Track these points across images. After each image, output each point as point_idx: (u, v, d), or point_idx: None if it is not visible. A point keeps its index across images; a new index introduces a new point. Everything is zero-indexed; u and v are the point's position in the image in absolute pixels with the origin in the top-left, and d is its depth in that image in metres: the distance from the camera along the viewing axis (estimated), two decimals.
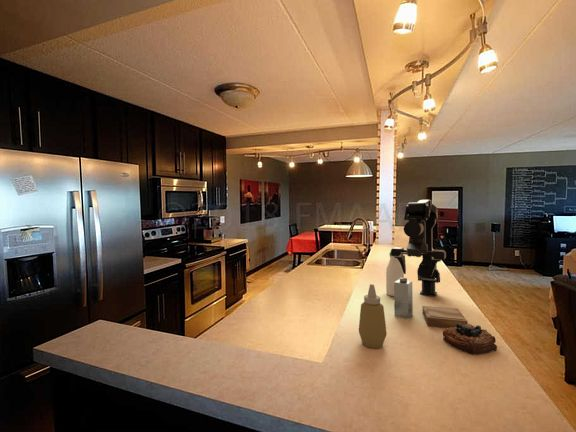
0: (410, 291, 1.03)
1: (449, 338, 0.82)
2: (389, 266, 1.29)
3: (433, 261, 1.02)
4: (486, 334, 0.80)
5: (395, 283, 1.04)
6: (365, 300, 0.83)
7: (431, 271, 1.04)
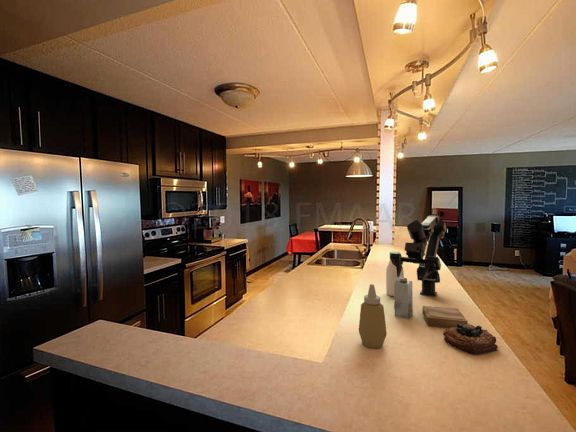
0: (410, 291, 1.03)
1: (450, 338, 0.82)
2: (389, 266, 1.29)
3: (427, 263, 1.08)
4: (487, 334, 0.80)
5: (395, 283, 1.04)
6: (365, 300, 0.83)
7: (423, 274, 1.07)
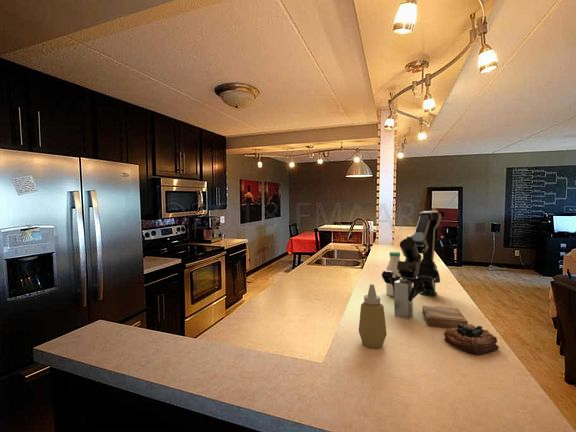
0: (410, 291, 1.03)
1: (450, 339, 0.82)
2: (389, 266, 1.29)
3: (415, 283, 1.03)
4: (487, 334, 0.80)
5: (395, 283, 1.04)
6: (365, 300, 0.83)
7: (411, 294, 1.02)
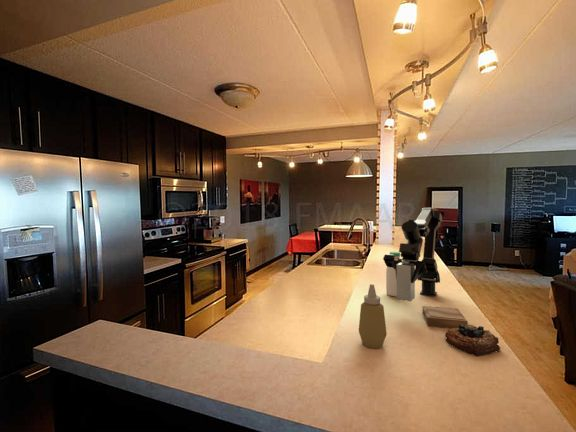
0: (412, 273, 1.03)
1: (452, 339, 0.82)
2: None
3: (417, 264, 1.03)
4: (489, 335, 0.79)
5: (397, 265, 1.03)
6: (365, 300, 0.83)
7: (413, 276, 1.02)
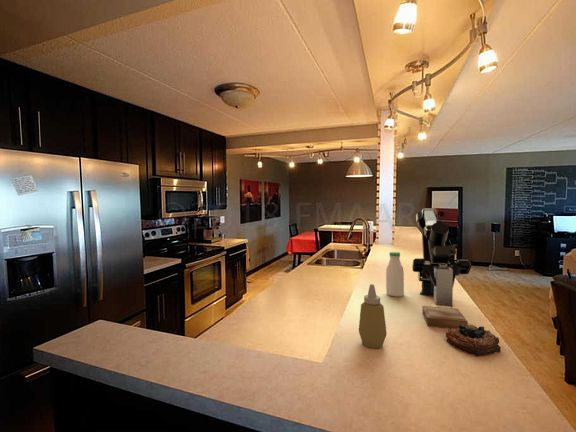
0: None
1: (452, 339, 0.81)
2: (389, 266, 1.29)
3: (454, 267, 0.99)
4: (490, 335, 0.79)
5: (438, 270, 0.97)
6: (365, 300, 0.83)
7: None
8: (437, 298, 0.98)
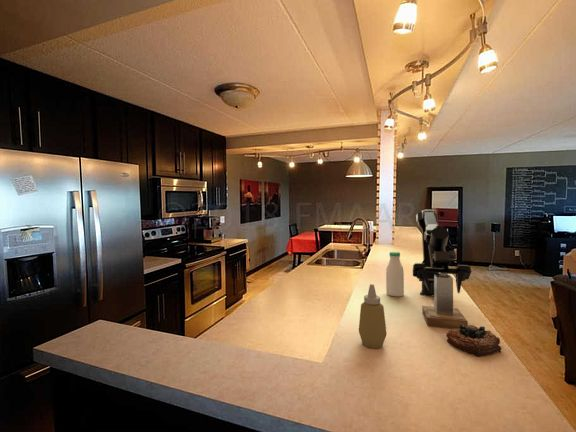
0: None
1: (453, 340, 0.81)
2: (389, 266, 1.29)
3: (460, 273, 0.98)
4: (490, 335, 0.79)
5: (438, 278, 0.97)
6: (365, 300, 0.83)
7: (459, 285, 0.97)
8: (438, 307, 0.98)
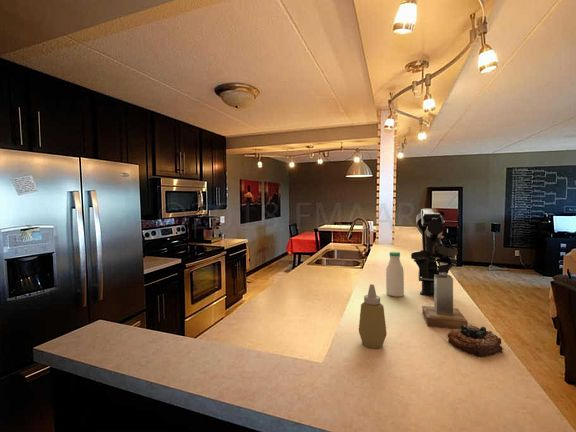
0: None
1: (454, 340, 0.81)
2: (389, 266, 1.29)
3: (450, 266, 1.11)
4: (492, 336, 0.79)
5: (438, 278, 0.97)
6: (365, 300, 0.83)
7: None
8: (438, 307, 0.98)
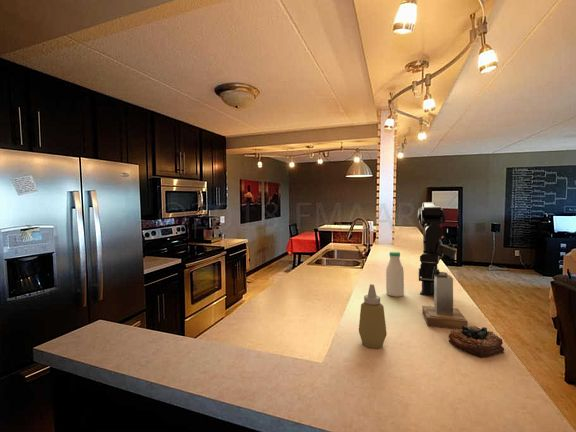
0: None
1: (456, 341, 0.81)
2: (389, 266, 1.29)
3: None
4: (493, 336, 0.79)
5: (438, 278, 0.97)
6: (365, 300, 0.83)
7: (436, 268, 1.15)
8: (438, 307, 0.98)
